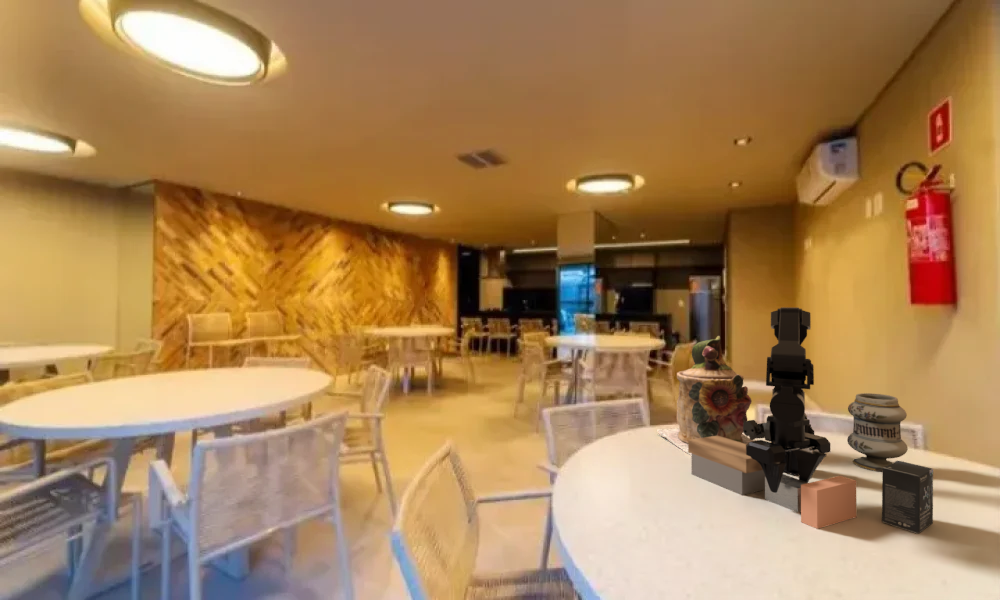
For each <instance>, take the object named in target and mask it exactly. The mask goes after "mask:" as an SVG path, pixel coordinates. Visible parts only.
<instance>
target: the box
mask: <svg viewBox="0 0 1000 600" xmlns="http://www.w3.org/2000/svg"><path fill="white" fill-rule="evenodd" d="M881 472H882V475H881V476H882V477H881V478H882V481H881V482H882V483H881V484H882V489H881V491H882V492H881V522H882V523H884V524H887V525H889V526H893V527H895V528H899V529H901V530H905V531H908V532H910V533H914V534H920V533H921V532H923V531H924V530H925V529H926V528H928V527H929V526H931V525H933V522H934V521H933V519H934V517H933V516H934V511H933V510H934V469H933V468H931V467H929V466H923V465H920V464H914V463H909V462H907V461H902V460H896V461H895V462H892V464H890V465H888V466H885V467H883V471H881Z"/></svg>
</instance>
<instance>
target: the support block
mask: <svg viewBox="0 0 1000 600" xmlns="http://www.w3.org/2000/svg"><path fill="white" fill-rule="evenodd" d="M807 483H809V481H808V482H805V481H802V480H799V478H795V477H793V476H789V475H787V474H784V473H783V475H782V478H781V482H780V485H779V488H778V491H777V493H774V492H772V491H771V490H770V488H769V485H768V482H767V479H766V477H765V490H764V500H766V501H769V502H770V503H773V504H775V505H778V506H781V507H782V508H785V509H788V510H790V511H793V512H795V513H801V485H802V484H807Z"/></svg>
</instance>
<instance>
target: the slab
mask: <svg viewBox="0 0 1000 600" xmlns="http://www.w3.org/2000/svg"><path fill="white" fill-rule="evenodd" d="M746 445H747V444H744V443H741V442H738V441H734V440H731V439H728V438H724V437H721V436H711V437H704V438H698V439H691V440H688V452H689V453H692V454H695V455H697V456H700V457H703V458H706V459H708V460H711V461H714V462H716V463H719V464H722V465H725V466H727V467H730V468H733V469H736V470H738V471H741V472H744V473H750V472H755V471H760V470H763V469H762V467H761V465H760V464H759V463H758V462H757V461H756V460H754V459H752V458H751V457H750V456H748V455H746Z"/></svg>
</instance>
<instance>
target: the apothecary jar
mask: <svg viewBox="0 0 1000 600" xmlns="http://www.w3.org/2000/svg"><path fill="white" fill-rule="evenodd" d="M847 412H849V414H850V415H851V416H853V428H852V429H853V430H852V432H851V433H850V434H849V435H848V437H847V439H846V440H847V444H848V446H850V448H851V449H853V450H854V451H856V452H858V453H860V454H861V455H862V454H863V455H865V456H862V457H856V458H854V459H852V464H854V465H855V466H856V467H859V468H862V469H865V470H869V471H873V470H874V471H873V472H883V467H885V466H888V465H890V464H892V463H893V461H890V460H888V459H898V458H900V457H902V456H905V454H907V452H908V449H909V448H908V445H907V443H906V442H905V441H904V440H903V439H902V435H901V422H903V421H904V420H905V419H906V418H907V411H906V410H905V409H904V408H903V407H901V406H900V403H899V400H898V398H897V397H895V396H894V395H887V394H881V393H867V392H866V393H865V392H864V393H857V394H856V395H855V398H854V401H853V402H851V403H850V404H848V407H847Z"/></svg>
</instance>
